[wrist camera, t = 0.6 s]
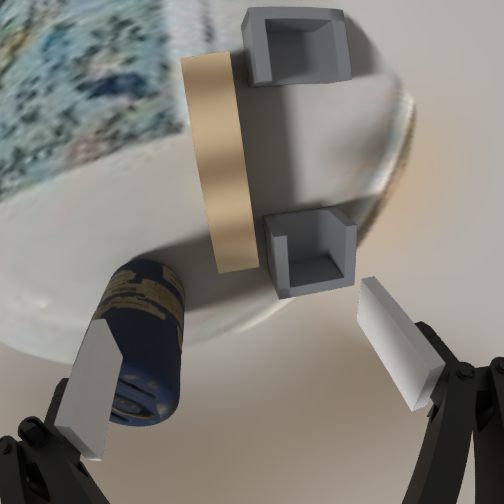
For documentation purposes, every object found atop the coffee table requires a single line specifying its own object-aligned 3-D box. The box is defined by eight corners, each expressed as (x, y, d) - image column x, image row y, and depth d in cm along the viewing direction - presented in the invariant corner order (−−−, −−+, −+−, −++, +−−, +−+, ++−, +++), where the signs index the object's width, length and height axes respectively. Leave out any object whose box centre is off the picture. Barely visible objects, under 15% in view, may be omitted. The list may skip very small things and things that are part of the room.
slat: (185, 68, 26) (180, 58, 21) (225, 62, 27) (229, 51, 21) (216, 248, 35) (218, 274, 30) (251, 241, 36) (259, 266, 30)
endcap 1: (241, 25, 25) (248, 7, 19) (320, 24, 25) (342, 9, 20) (248, 87, 28) (257, 81, 23) (327, 83, 29) (351, 79, 23)
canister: (151, 239, 34) (111, 352, 17) (202, 296, 38) (204, 420, 21) (96, 282, 35) (44, 394, 19) (146, 332, 39) (127, 449, 23)
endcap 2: (334, 260, 38) (354, 285, 32) (268, 271, 37) (278, 299, 32) (334, 206, 35) (357, 224, 29) (263, 216, 34) (273, 237, 29)
